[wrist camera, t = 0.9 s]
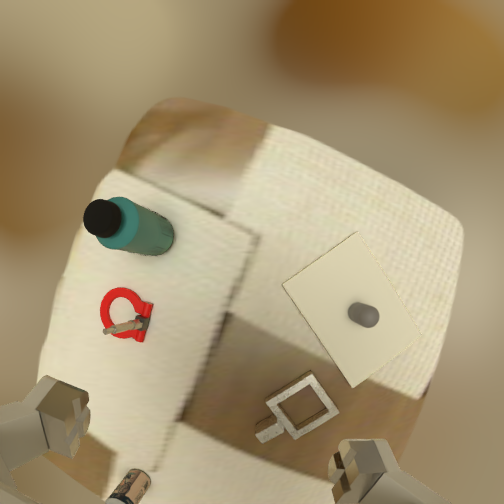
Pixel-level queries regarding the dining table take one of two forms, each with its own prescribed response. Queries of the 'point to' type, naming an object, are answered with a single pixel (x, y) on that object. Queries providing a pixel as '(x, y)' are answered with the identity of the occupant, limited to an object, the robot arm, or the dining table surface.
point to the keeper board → (338, 295)
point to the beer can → (130, 488)
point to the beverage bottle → (128, 226)
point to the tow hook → (131, 327)
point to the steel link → (281, 419)
